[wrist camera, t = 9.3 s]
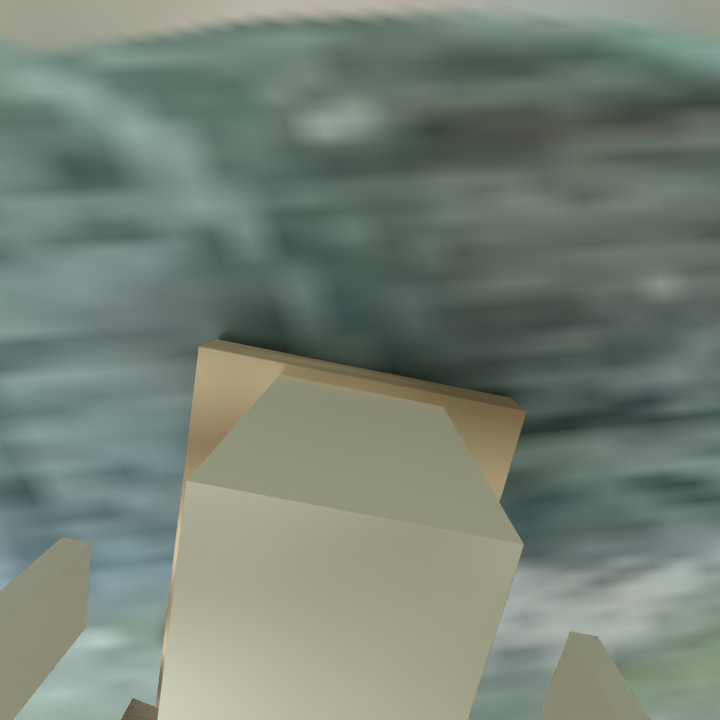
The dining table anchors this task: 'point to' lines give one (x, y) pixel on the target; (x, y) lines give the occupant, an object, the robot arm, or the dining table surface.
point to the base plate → (262, 367)
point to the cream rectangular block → (336, 565)
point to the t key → (140, 711)
